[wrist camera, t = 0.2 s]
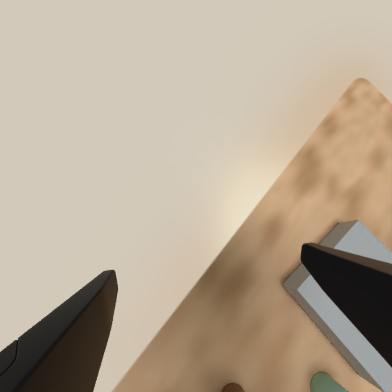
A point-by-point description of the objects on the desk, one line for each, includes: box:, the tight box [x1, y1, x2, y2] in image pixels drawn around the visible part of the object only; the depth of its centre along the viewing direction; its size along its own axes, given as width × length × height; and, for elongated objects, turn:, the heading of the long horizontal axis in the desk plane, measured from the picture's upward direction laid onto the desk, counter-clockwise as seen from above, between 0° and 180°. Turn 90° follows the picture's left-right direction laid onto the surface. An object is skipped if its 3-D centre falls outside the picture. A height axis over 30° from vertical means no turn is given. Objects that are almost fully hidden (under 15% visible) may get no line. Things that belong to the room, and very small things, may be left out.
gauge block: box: [282, 220, 392, 392], centre depth 22 cm, size 12×12×3 cm
